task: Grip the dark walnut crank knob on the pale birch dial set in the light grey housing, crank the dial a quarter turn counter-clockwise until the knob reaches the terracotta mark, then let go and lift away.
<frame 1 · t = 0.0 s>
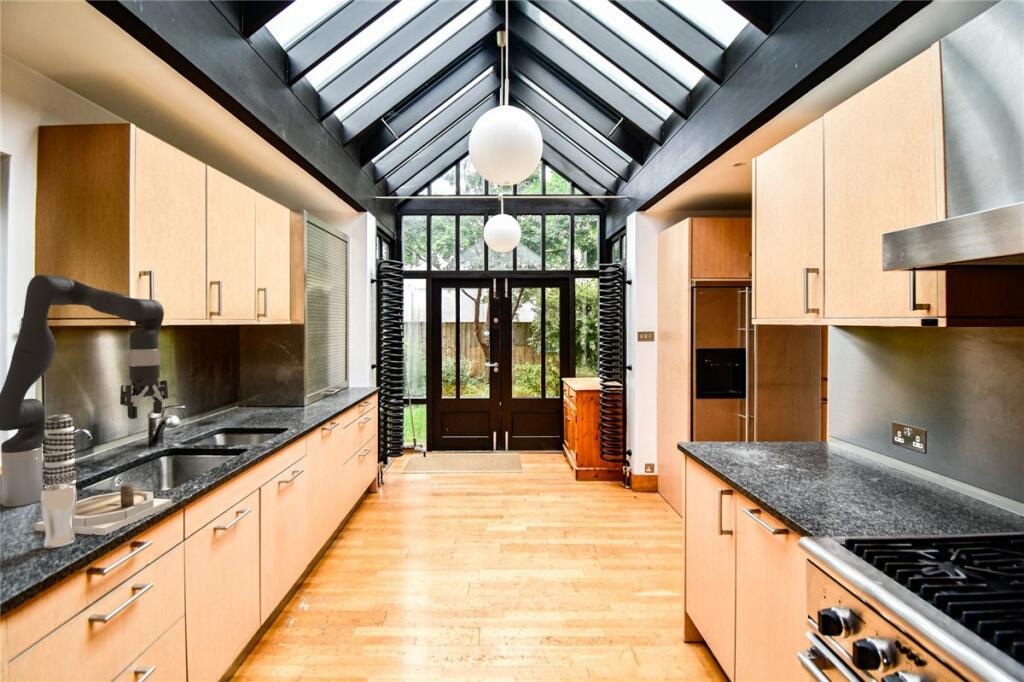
hand: (145, 416, 149), 29 cm above the countertop, tool pointing down, fingers open, 8 cm apart
decorative candle: (60, 484, 173), on the countertop
beer glass: (60, 544, 126), on the countertop
dial: (107, 497, 143), point 6 cm above the countertop, hinge at 0.0°
dial housing: (108, 517, 143), on the countertop
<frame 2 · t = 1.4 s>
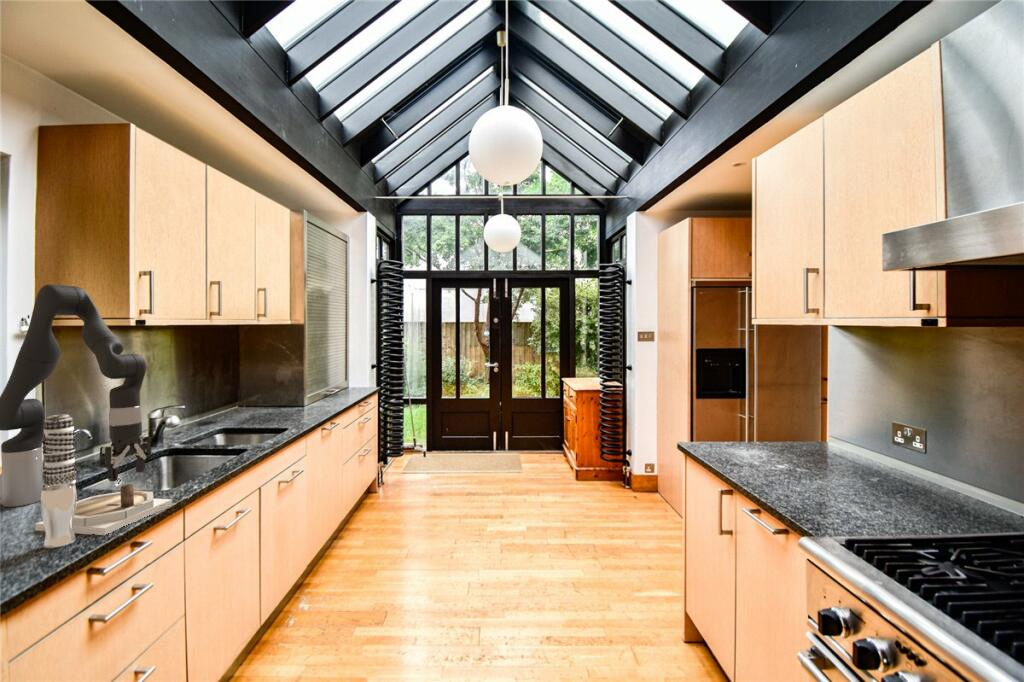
hand: (127, 476, 142), 13 cm above the countertop, tool pointing down, fingers open, 8 cm apart
nothing on the countertop moved.
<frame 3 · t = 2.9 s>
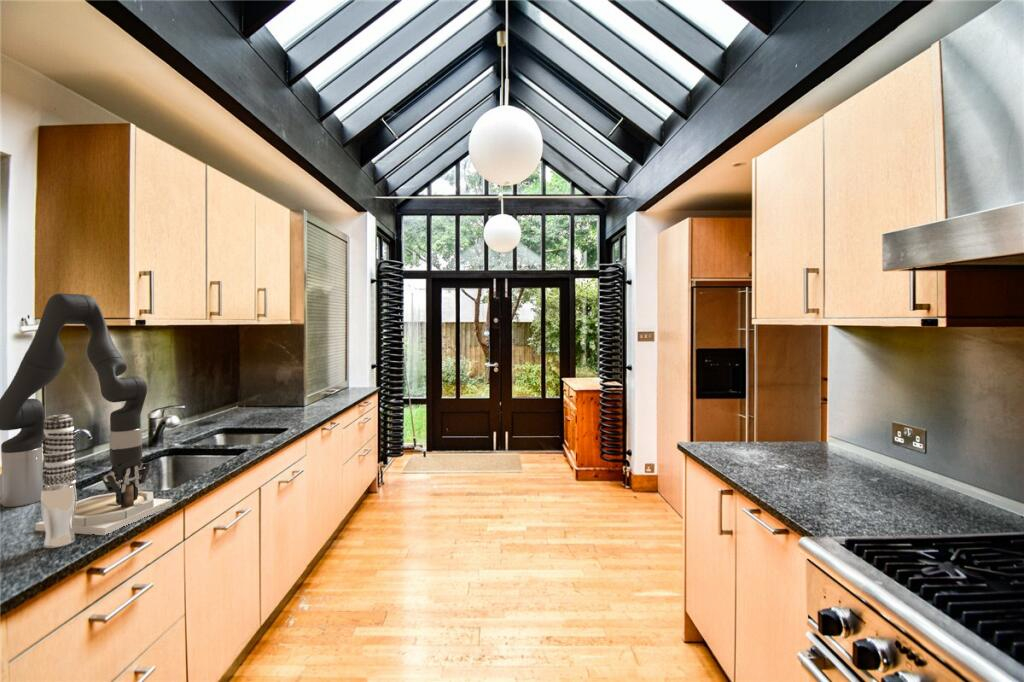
hand: (127, 502, 142), 5 cm above the countertop, tool pointing down, fingers closed on dial, 3 cm apart
dial: (107, 497, 143), point 6 cm above the countertop, hinge at 0.0°, touching gripper
everything else where it was.
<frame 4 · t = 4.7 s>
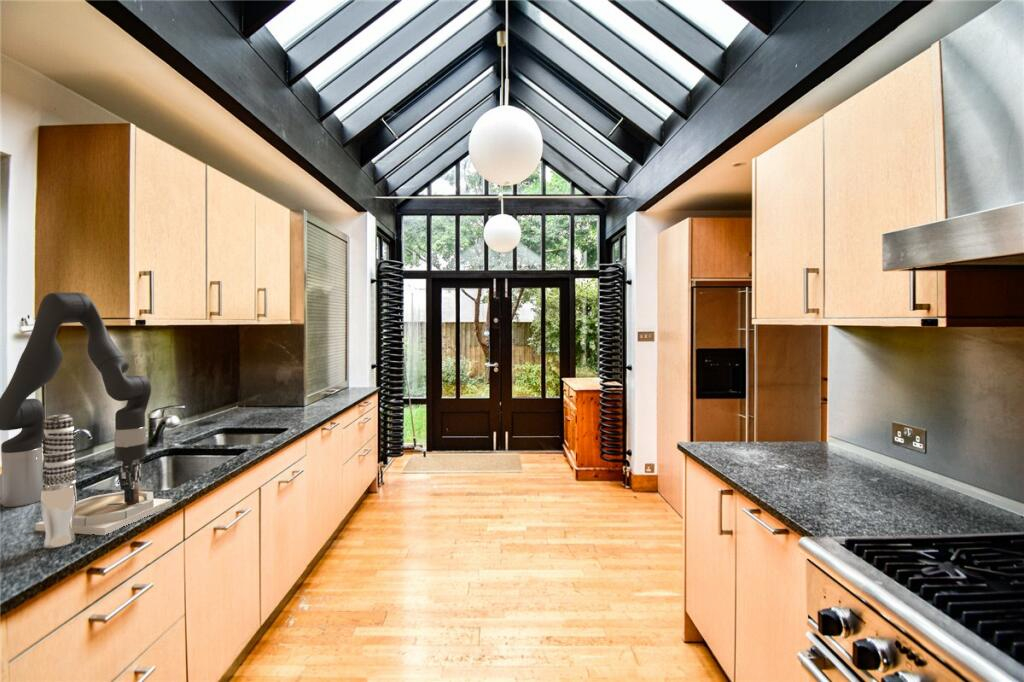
hand: (131, 499, 144), 5 cm above the countertop, tool pointing down, fingers closed on dial, 3 cm apart
dial: (107, 497, 143), point 6 cm above the countertop, hinge at 18.7°, touching gripper
everything else where it was.
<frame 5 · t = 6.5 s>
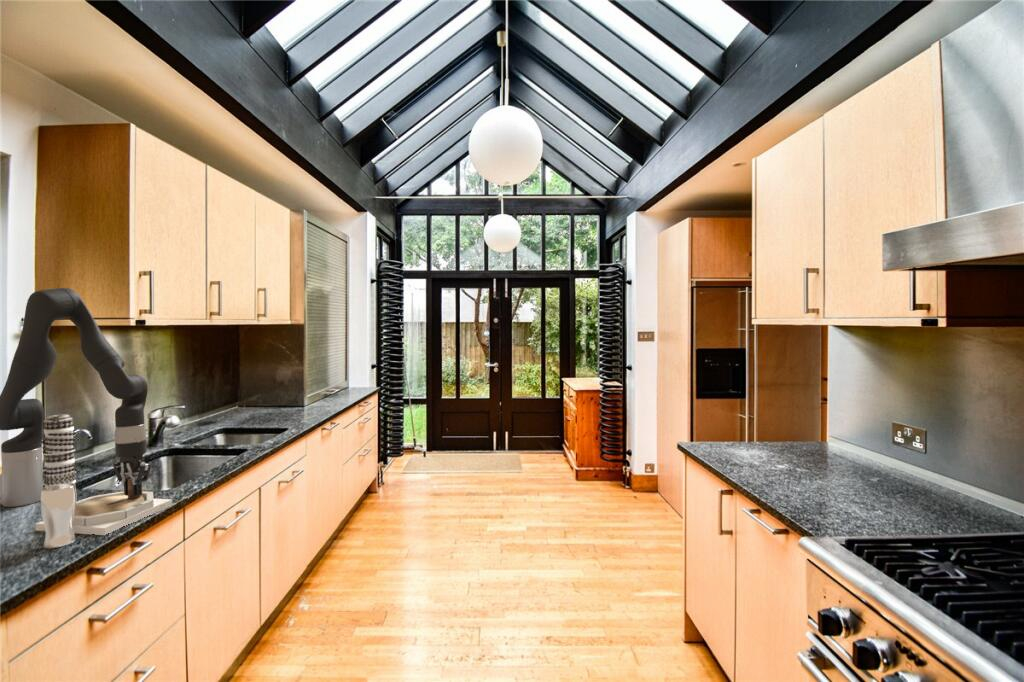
hand: (133, 494, 148), 5 cm above the countertop, tool pointing down, fingers closed on dial, 3 cm apart
dial: (107, 497, 143), point 6 cm above the countertop, hinge at 65.9°, touching gripper
everything else where it was.
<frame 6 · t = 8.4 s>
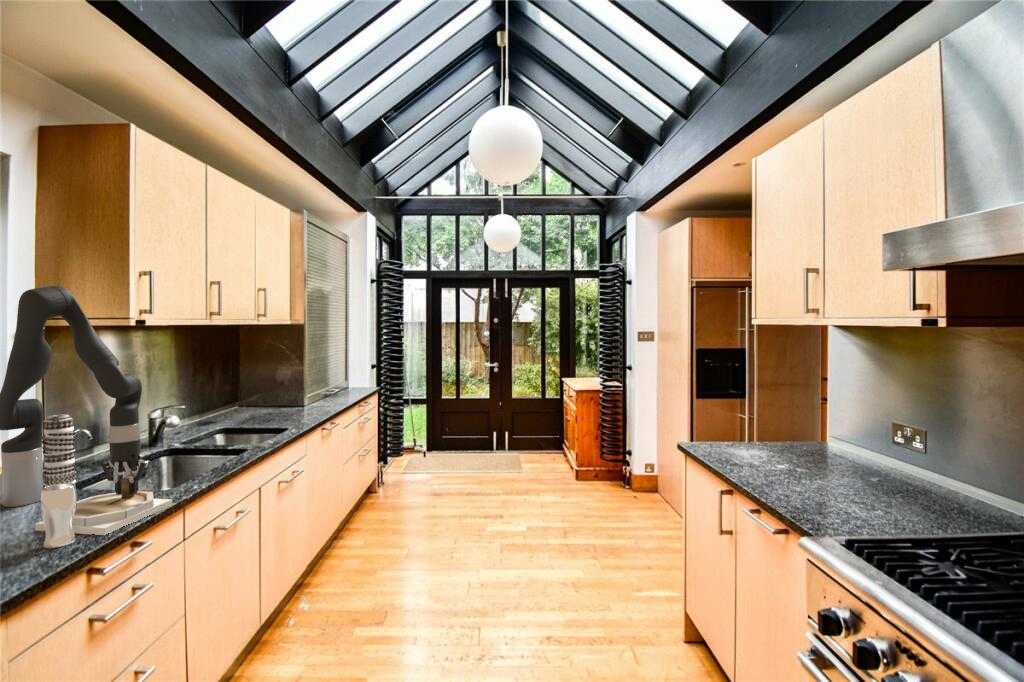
hand: (127, 493, 150), 5 cm above the countertop, tool pointing down, fingers open, 3 cm apart
dial: (107, 497, 143), point 6 cm above the countertop, hinge at 91.3°, touching gripper
everything else where it was.
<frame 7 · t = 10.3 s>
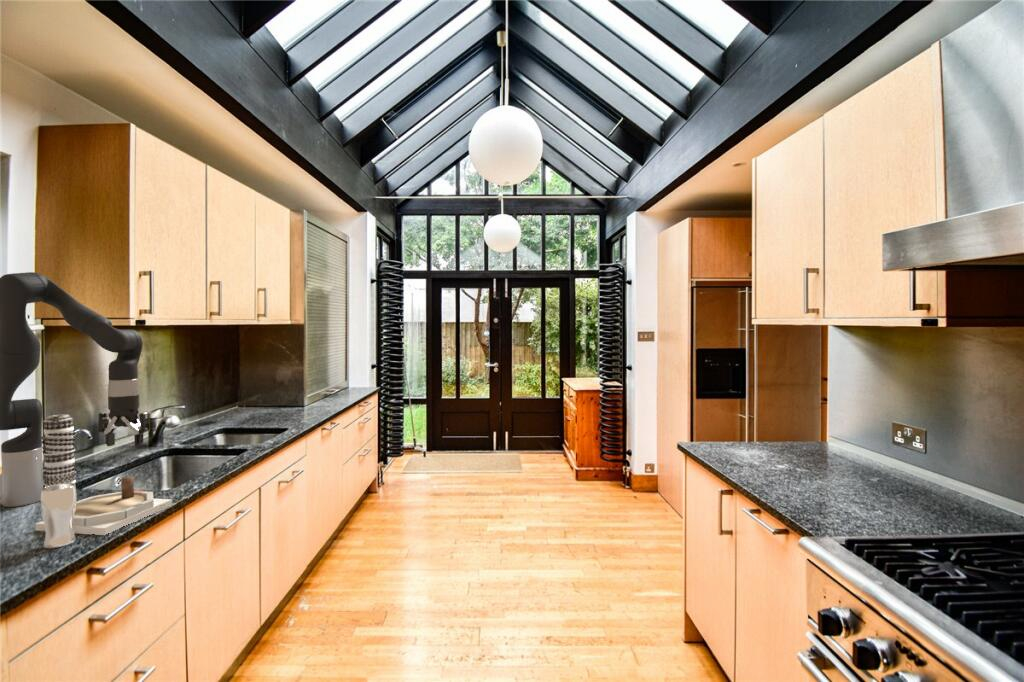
hand: (124, 445, 149), 20 cm above the countertop, tool pointing down, fingers open, 8 cm apart
dial: (107, 497, 143), point 6 cm above the countertop, hinge at 91.3°
everything else where it was.
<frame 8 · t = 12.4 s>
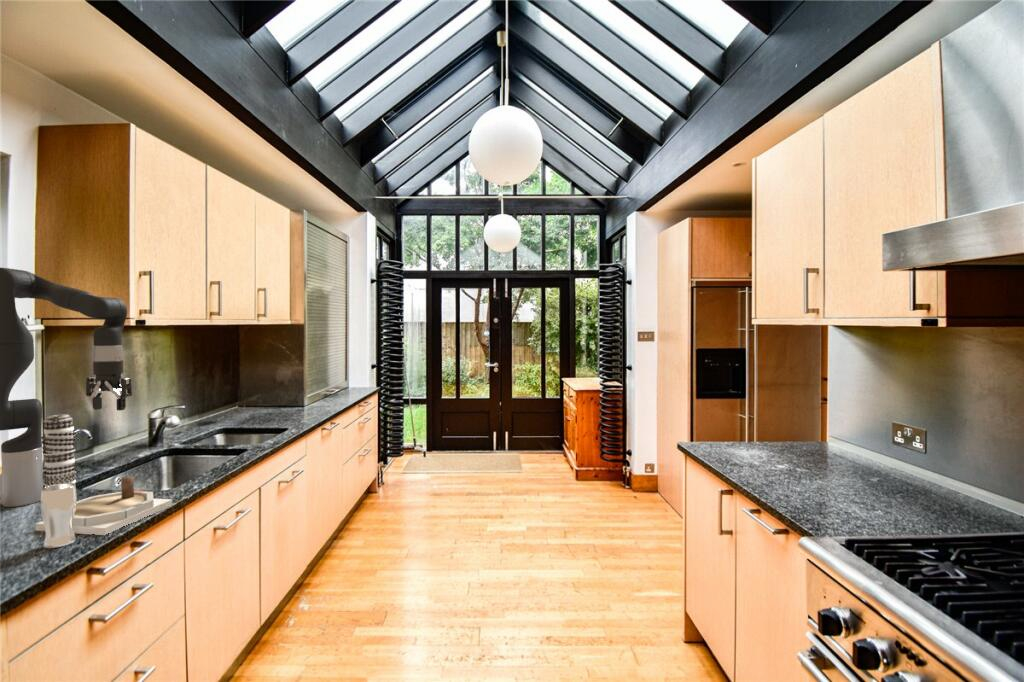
hand: (109, 409, 155), 30 cm above the countertop, tool pointing down, fingers open, 8 cm apart
nothing on the countertop moved.
at the end: dial at +91° (first picture: +0°); the gripper is holding nothing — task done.
